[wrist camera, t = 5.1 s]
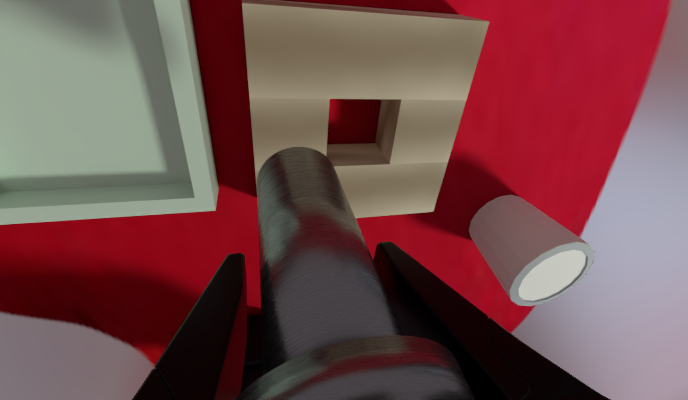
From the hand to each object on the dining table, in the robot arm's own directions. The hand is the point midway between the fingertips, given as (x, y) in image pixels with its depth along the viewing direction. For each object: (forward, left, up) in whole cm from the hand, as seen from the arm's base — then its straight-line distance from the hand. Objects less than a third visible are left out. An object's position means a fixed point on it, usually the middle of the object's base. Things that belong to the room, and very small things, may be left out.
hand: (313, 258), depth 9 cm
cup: (-11, -19, -13) cm, 26 cm away
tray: (+1, +10, -13) cm, 17 cm away
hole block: (-1, -4, -13) cm, 14 cm away
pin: (0, 0, -4) cm, 4 cm away
